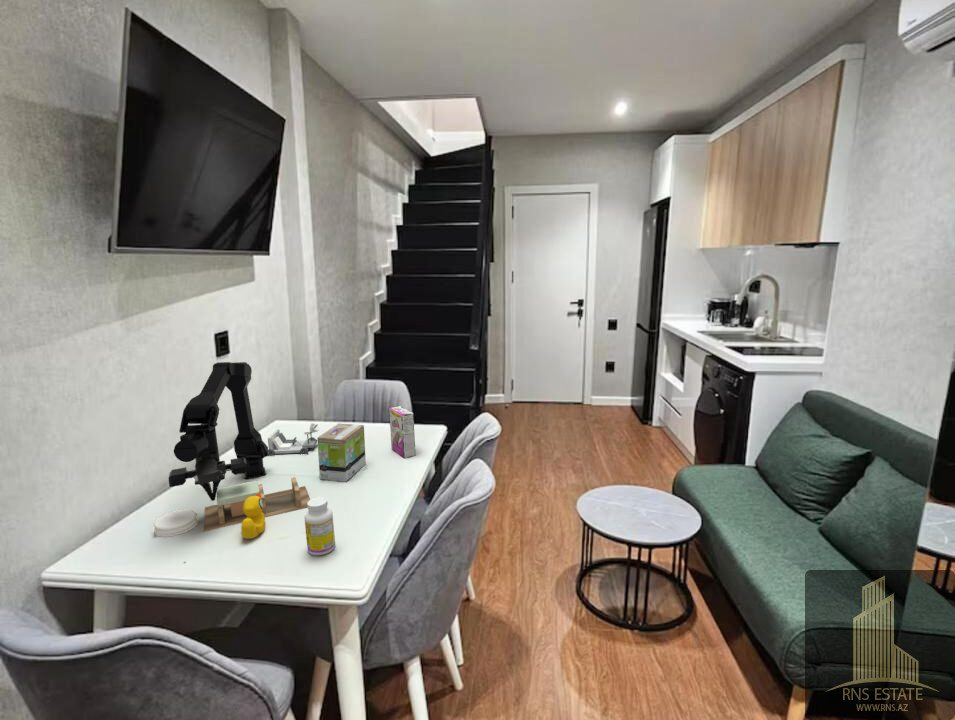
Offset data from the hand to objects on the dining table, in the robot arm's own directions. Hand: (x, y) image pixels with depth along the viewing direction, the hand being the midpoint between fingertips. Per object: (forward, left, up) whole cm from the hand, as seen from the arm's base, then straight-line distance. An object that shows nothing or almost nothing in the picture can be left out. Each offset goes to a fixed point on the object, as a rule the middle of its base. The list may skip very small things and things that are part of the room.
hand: (213, 500), depth 139 cm
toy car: (-44, +27, -6) cm, 52 cm away
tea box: (-14, +39, -6) cm, 42 cm away
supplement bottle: (+30, +24, -6) cm, 38 cm away
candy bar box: (-20, +62, -6) cm, 65 cm away
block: (0, +6, -5) cm, 8 cm away
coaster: (+1, -9, -6) cm, 11 cm away
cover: (0, +6, 0) cm, 6 cm away
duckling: (+14, +9, -6) cm, 18 cm away
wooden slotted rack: (0, +12, -6) cm, 13 cm away
